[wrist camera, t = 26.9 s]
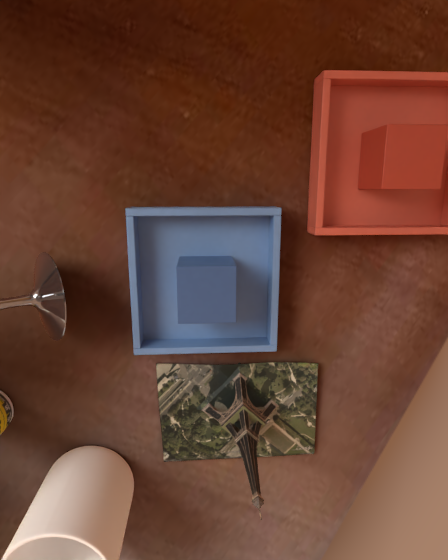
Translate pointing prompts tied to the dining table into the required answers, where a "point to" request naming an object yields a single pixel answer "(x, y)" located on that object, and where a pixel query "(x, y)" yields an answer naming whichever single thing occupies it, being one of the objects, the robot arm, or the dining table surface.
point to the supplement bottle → (5, 411)
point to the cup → (77, 509)
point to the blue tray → (203, 242)
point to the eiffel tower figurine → (237, 412)
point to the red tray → (347, 145)
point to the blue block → (206, 289)
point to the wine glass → (44, 297)
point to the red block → (402, 157)
